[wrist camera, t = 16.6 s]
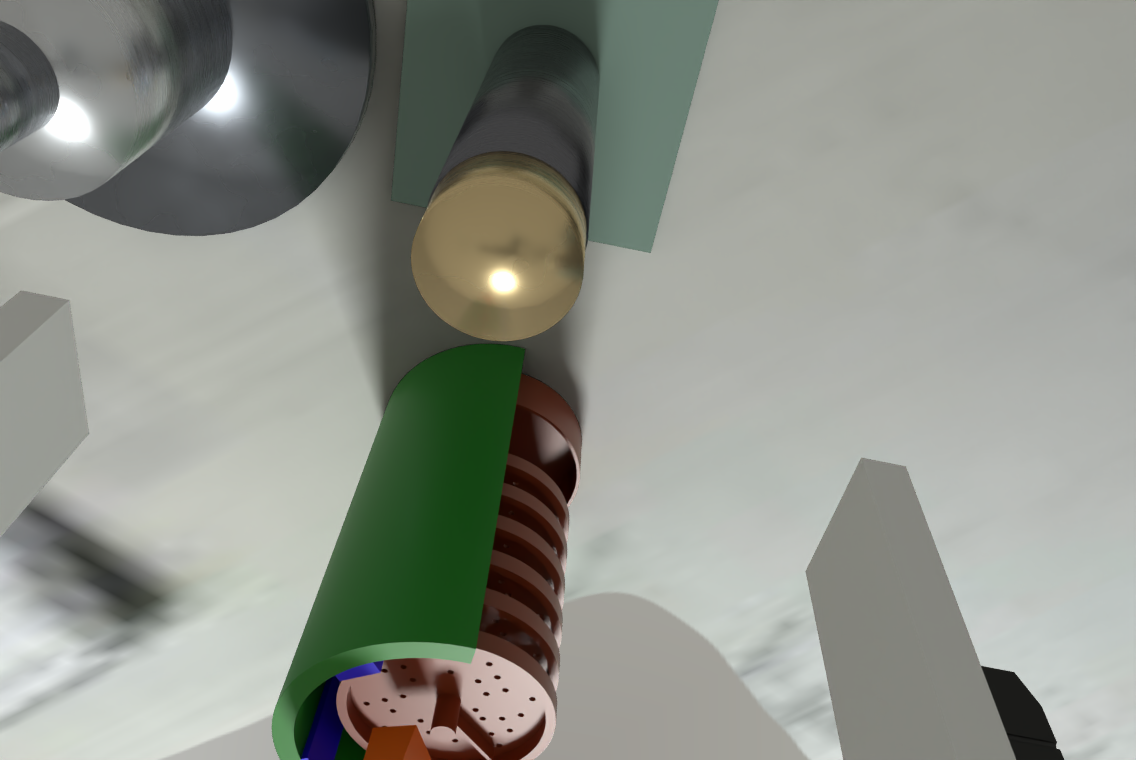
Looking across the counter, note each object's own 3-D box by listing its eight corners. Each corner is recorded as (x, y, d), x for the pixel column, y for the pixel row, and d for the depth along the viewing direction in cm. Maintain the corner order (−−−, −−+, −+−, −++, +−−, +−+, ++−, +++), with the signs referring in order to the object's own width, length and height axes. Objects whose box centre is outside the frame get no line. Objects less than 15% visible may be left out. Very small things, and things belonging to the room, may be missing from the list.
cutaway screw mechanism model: (614, 501, 42) (600, 975, 25) (442, 540, 44) (325, 1001, 27) (535, 323, 37) (453, 774, 20) (345, 378, 39) (130, 826, 22)
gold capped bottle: (606, 31, 30) (595, 194, 18) (592, 142, 32) (575, 351, 20) (492, 18, 30) (408, 172, 18) (486, 130, 32) (408, 332, 20)
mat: (724, -28, 29) (725, -25, 28) (650, 248, 34) (650, 253, 34) (417, -95, 28) (415, -94, 28) (393, 196, 34) (391, 200, 33)
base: (393, -214, 26) (385, -214, 26) (362, 260, 35) (356, 272, 35) (-159, -340, 26) (-185, -344, 25) (-47, 179, 35) (-63, 189, 34)
